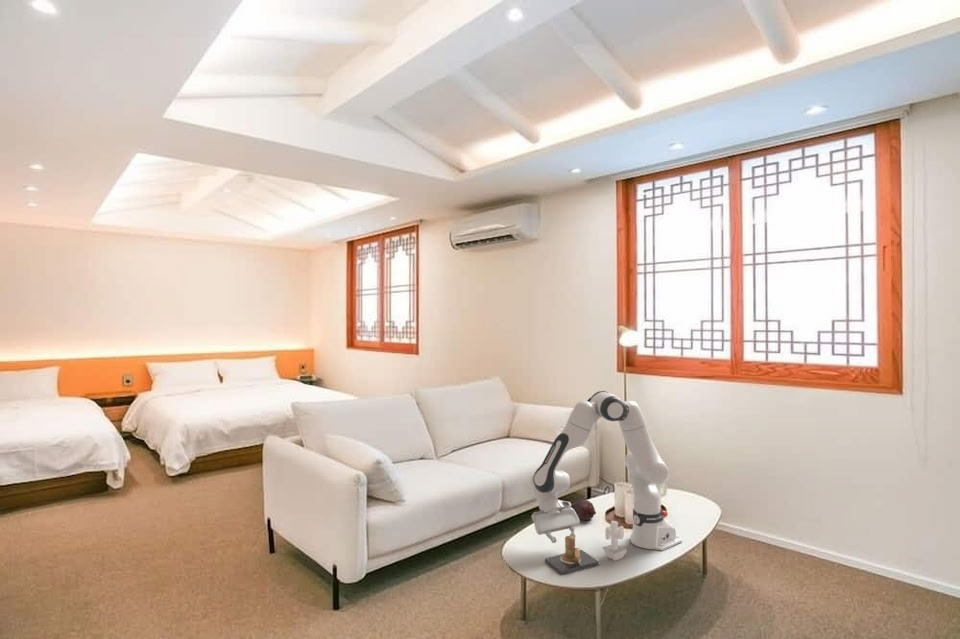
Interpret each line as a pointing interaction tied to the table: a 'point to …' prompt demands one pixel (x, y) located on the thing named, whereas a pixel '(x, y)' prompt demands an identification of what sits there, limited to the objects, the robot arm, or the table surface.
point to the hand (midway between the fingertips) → (564, 540)
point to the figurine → (614, 541)
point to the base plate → (567, 567)
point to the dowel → (577, 556)
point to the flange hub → (569, 549)
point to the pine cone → (584, 509)
